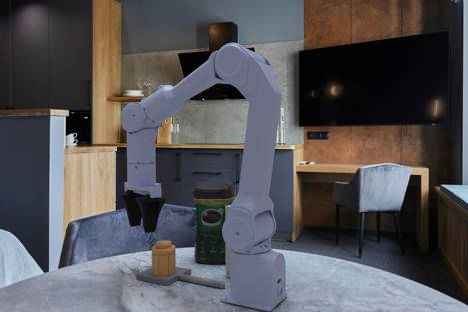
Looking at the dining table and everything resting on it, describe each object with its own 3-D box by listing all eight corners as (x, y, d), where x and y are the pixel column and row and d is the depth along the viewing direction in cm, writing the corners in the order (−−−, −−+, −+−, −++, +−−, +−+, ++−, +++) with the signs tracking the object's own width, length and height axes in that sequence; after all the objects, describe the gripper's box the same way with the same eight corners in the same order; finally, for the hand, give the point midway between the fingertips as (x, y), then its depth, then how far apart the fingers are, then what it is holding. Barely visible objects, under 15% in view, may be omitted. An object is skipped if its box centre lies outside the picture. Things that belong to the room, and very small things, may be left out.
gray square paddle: (235, 282, 78) (235, 259, 78) (213, 295, 71) (213, 271, 71) (161, 268, 87) (161, 248, 87) (136, 279, 80) (135, 257, 80)
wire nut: (180, 270, 82) (180, 241, 82) (163, 277, 79) (163, 246, 78) (164, 266, 85) (163, 238, 85) (147, 272, 81) (146, 242, 81)
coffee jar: (237, 255, 97) (236, 180, 96) (232, 265, 89) (232, 183, 89) (198, 254, 98) (197, 180, 98) (190, 264, 90) (190, 183, 90)
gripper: (175, 163, 78) (176, 232, 78) (145, 161, 90) (146, 221, 90) (141, 165, 74) (142, 237, 74) (114, 162, 86) (115, 225, 86)
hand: (142, 229), depth 82 cm, fingers open, 7 cm apart
